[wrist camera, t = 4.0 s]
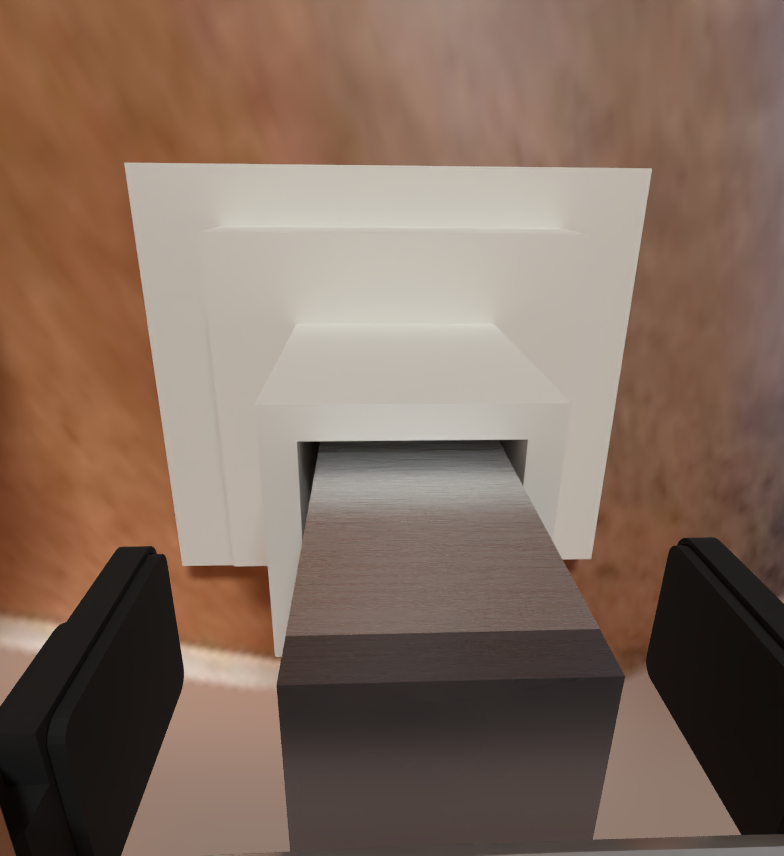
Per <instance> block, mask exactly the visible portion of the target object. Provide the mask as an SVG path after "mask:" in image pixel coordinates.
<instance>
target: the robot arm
mask: <svg viewBox="0 0 784 856" xmlns="http://www.w3.org/2000/svg"><path fill="white" fill-rule="evenodd" d="M646 666H647V671H648V674H649V677H650V679H651V681H652V683H653V684H654V686H655V688H656V689H657V691H658V693H659V695H660V696H661V698H662V700H663V701H664V703H665V705H666V706H667V708H668V710H669V711H670V713H671V715H672V717H673V718H674V720H675V722H676V723H677V725H678V727H679V729H680V730H681V732H682V734H683V736H684V737H685V739H686V740H687V742H688V744H689V745H690V748H691V749H692V751H693V752H694V754H695V756H696V758H697V760H698V761H699V763H700V765H701V766H702V768H703V770H704V771H705V773H706V775H707V777H708V778H709V780H710V782H711V783H712V785H713V787H714V789H715V790H716V792H717V793H718V795H719V797H720V799H721V800H722V802H723V804H724V806H725V807H726V809H727V811H728V812H729V814H730V816H731V818H732V819H733V821H734V822H735V825H736V826H737V828H738V830H739V831H740V833H741V835H729V836H697V837H668V838H667V837H665V838H635V839H602V840H572V841H545V842H518V843H490V844H464V845H439V846H413V847H387V848H364V849H341V850H318V851H296V852H274V853H251V854H229V855H228V854H227V855H209V856H784V604H783V603H782V602H781V601H780V600H779V599H778V598H777V597H776V596H775V595H774V594H773V593H772V592H771V591H770V590H769V589H768V588H767V587H766V586H765V585H764V584H763V583H762V582H761V581H760V580H759V579H758V578H757V577H756V576H755V575H754V574H753V573H752V572H751V571H750V570H749V569H748V568H747V567H746V566H745V565H744V564H743V563H742V562H741V561H740V560H739V559H738V558H737V557H736V556H735V555H734V554H733V553H732V552H731V551H730V550H729V549H728V548H727V547H726V546H725V545H723V544H722V543H721V542H720V541H719V540H718V539H716V538H712V537H710V538H683V539H681V540H680V541H679V542H678V545H677V546H673V547H671V549H670V551H669V554H668V558H667V563H666V568H665V572H664V577H663V582H662V587H661V591H660V596H659V601H658V605H657V610H656V615H655V620H654V624H653V629H652V634H651V638H650V643H649V648H648V652H647V658H646ZM183 679H184V668H183V661H182V655H181V649H180V642H179V636H178V629H177V623H176V617H175V610H174V604H173V597H172V591H171V584H170V578H169V572H168V565H167V560H166V557H165V555H163V554H157V553H156V550H155V549H154V547H152V546H144V547H119V548H118V549H117V550H116V551H115V553H114V554H113V556H112V557H111V558H110V560H109V561H108V563H107V564H106V566H105V567H104V569H103V570H102V571H101V573H100V574H99V576H98V577H97V579H96V580H95V582H94V583H93V584H92V586H91V587H90V589H89V590H88V592H87V593H86V594H85V596H84V597H83V599H82V600H81V602H80V603H79V605H78V606H77V607H76V609H75V610H74V612H73V613H72V615H71V616H70V618H69V619H68V620H67V622H65V623H63V624H61V625H59V626H58V627H57V628H56V629H55V630H54V631H53V633H52V634H51V635H50V637H49V638H48V640H47V641H46V643H45V644H44V645H43V647H42V648H41V650H40V651H39V652H38V654H37V655H36V657H35V658H34V659H33V661H32V662H31V664H30V665H29V667H28V668H27V669H26V671H25V672H24V674H23V675H22V676H21V678H20V679H19V681H18V682H17V684H16V685H15V686H14V688H13V689H12V691H11V692H10V694H9V695H8V696H7V698H6V699H5V701H4V702H3V703H2V705H1V706H0V856H121V854H122V851H123V848H124V845H125V843H126V840H127V837H128V835H129V832H130V829H131V826H132V824H133V821H134V818H135V815H136V813H137V810H138V807H139V805H140V802H141V799H142V797H143V794H144V791H145V788H146V786H147V783H148V780H149V777H150V775H151V772H152V769H153V766H154V764H155V761H156V758H157V755H158V753H159V750H160V747H161V745H162V742H163V739H164V737H165V734H166V731H167V729H168V726H169V723H170V720H171V718H172V715H173V712H174V709H175V707H176V704H177V701H178V699H179V696H180V693H181V690H182V686H183Z"/></svg>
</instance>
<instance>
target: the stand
mask: <svg viewBox="0 0 784 856" xmlns="http://www.w3.org/2000/svg"><path fill="white" fill-rule="evenodd" d="M124 164H125V171H126V178H127V185H128V192H129V199H130V206H131V212H132V219H133V226H134V233H135V240H136V247H137V254H138V261H139V268H140V275H141V282H142V289H143V295H144V302H145V309H146V316H147V323H148V330H149V337H150V344H151V351H152V358H153V365H154V371H155V378H156V385H157V392H158V399H159V406H160V413H161V420H162V427H163V434H164V441H165V447H166V454H167V461H168V468H169V475H170V482H171V489H172V496H173V503H174V510H175V517H176V523H177V530H178V537H179V544H180V551H181V558H182V565H183V566H211V565H234V566H268V576H269V588H270V600H271V612H272V624H273V637H274V649H275V657H282V653H283V647H284V641H285V636H286V630H287V625H288V619H289V614H290V608H291V602H292V597H293V591H294V586H295V580H296V574H297V569H298V563H299V558H300V552H301V547H302V541H303V535H304V530H305V524H306V519H307V513H308V507H309V502H310V496H311V491H312V485H313V479H314V474H315V468H316V463H317V457H318V452H319V446H320V441H412V440H499V442H500V444H501V446H502V448H503V449H504V451H505V453H506V455H507V457H508V459H509V461H510V463H511V464H512V466H513V468H514V470H515V472H516V474H517V476H518V478H519V479H520V481H521V483H522V485H523V487H524V489H525V491H526V492H527V494H528V496H529V498H530V500H531V502H532V504H533V506H534V507H535V509H536V511H537V513H538V515H539V517H540V519H541V520H542V522H543V524H544V526H545V528H546V530H547V532H548V534H549V535H550V537H551V539H552V541H553V543H554V545H555V547H556V549H557V550H558V552H559V554H560V556H561V558H562V559H591V556H592V549H593V543H594V537H595V530H596V524H597V518H598V511H599V505H600V498H601V492H602V486H603V479H604V473H605V466H606V460H607V454H608V447H609V441H610V434H611V428H612V422H613V415H614V409H615V402H616V396H617V390H618V383H619V377H620V370H621V364H622V358H623V351H624V345H625V338H626V332H627V326H628V319H629V313H630V306H631V300H632V294H633V287H634V281H635V274H636V268H637V262H638V255H639V249H640V242H641V236H642V230H643V223H644V217H645V210H646V204H647V198H648V191H649V185H650V178H651V172H652V168H560V167H468V166H377V165H285V164H193V163H124Z"/></svg>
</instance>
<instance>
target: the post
mask: <svg viewBox="0 0 784 856" xmlns="http://www.w3.org/2000/svg"><path fill="white" fill-rule="evenodd" d="M624 678H625V676H624V674H623V672H622V670H621V668H620V666H619V664H618V662H617V661H616V659H615V657H614V655H613V653H612V651H611V649H610V648H609V646H608V644H607V642H606V640H605V638H604V636H603V634H602V633H601V631H600V629H599V627H598V625H597V623H596V621H595V620H594V618H593V616H592V614H591V612H590V610H589V608H588V606H587V605H586V603H585V601H584V599H583V597H582V595H581V593H580V591H579V590H578V588H577V586H576V584H575V582H574V580H573V578H572V577H571V575H570V573H569V571H568V569H567V567H566V565H565V563H564V562H563V560H562V558H561V556H560V554H559V552H558V550H557V549H556V547H555V545H554V543H553V541H552V539H551V537H550V535H549V534H548V532H547V530H546V528H545V526H544V524H543V522H542V520H541V519H540V517H539V515H538V513H537V511H536V509H535V507H534V506H533V504H532V502H531V500H530V498H529V496H528V494H527V492H526V491H525V489H524V487H523V485H522V483H521V481H520V479H519V478H518V476H517V474H516V472H515V470H514V468H513V466H512V464H511V463H510V461H509V459H508V457H507V455H506V453H505V451H504V449H503V448H502V446H501V444H500V442H499V440H412V441H320V446H319V452H318V457H317V463H316V468H315V474H314V479H313V485H312V491H311V496H310V502H309V507H308V513H307V519H306V524H305V530H304V535H303V541H302V547H301V552H300V558H299V563H298V569H297V574H296V580H295V586H294V591H293V597H292V602H291V608H290V614H289V619H288V625H287V630H286V636H285V641H284V647H283V653H282V658H281V664H280V669H279V675H278V681H277V695H278V707H279V718H280V719H279V720H280V732H281V744H282V756H283V768H284V780H285V791H286V804H287V817H288V828H289V841H290V852H296V851H318V850H341V849H364V848H387V847H413V846H439V845H464V844H490V843H518V842H545V841H572V840H593V835H594V830H595V824H596V819H597V815H598V809H599V804H600V799H601V794H602V789H603V784H604V779H605V774H606V769H607V764H608V759H609V754H610V748H611V744H612V739H613V734H614V729H615V724H616V718H617V714H618V709H619V704H620V698H621V693H622V688H623V683H624Z"/></svg>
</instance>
